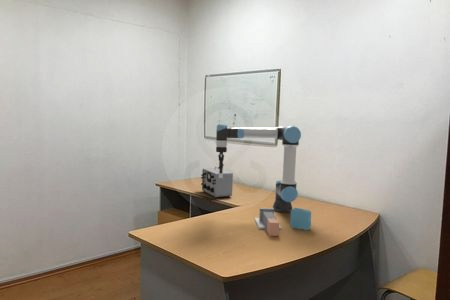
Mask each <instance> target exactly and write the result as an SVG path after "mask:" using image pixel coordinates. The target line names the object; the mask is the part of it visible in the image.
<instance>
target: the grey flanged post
mask: <svg viewBox="0 0 450 300" xmlns="http://www.w3.org/2000/svg"><path fill="white" fill-rule="evenodd" d="M258 215H259V217H255V218H254V221H255V224H256V226H257V228H258V230H265V231H266V232H267V219H277V217H276V216H275V211H274V208H273V207H259V212H258ZM279 230H282V227H281V225H280V224H279Z"/></svg>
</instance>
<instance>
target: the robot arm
mask: <svg viewBox="0 0 450 300" xmlns="http://www.w3.org/2000/svg"><path fill="white" fill-rule="evenodd" d="M244 138H246V139H248V138H249V139H274V140H278V141H281V145H282V146H283V161H282V163H283V164H282V179H281V180H279V179H278V180H276V181H275V192H274V195H275V198H274V202H273V205H272V208H274V212H276V211H277V213H283V212H288V213H291V210H292V209H294V207H293V204H292V202H294V201H295V200H297V198H298V195H299V191H298V190H297V184H298V183H297V182H296V180H295V179H296V178H295V177H296V163H297V162H296V160H297V159H296V158H297V147H299V144H300V140H301V138H302V132H301V130H300V129H299V127H298V126H295V125H283V126H274V127H238V126H237V127H236V126H235V127H234V126H233V127H229V126H228V125H227V124H217V125H216V138H215V139H216V141H215V146H216V147H215V151H216V153H219V154H217V155H218V161H219V163H218V164H219V165H218V166H217V168H218V169H219V178H223V170H224V158H225V154H224V153H227V151H228V150H227V149H228V148H227V147H228V139H244Z"/></svg>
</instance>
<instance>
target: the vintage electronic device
mask: <svg viewBox="0 0 450 300" xmlns="http://www.w3.org/2000/svg"><path fill="white" fill-rule="evenodd" d="M233 173H234V172H232V171H228V170H225V169H223V178H219V169H218V166H214V168H202V174H201V178H200V179H201V182H202V183H201V184H200V185H201V190H202V192H204V193H206V194H208V195H210V196H212V197H213V198H215V199H218V198H222V197H227V198H231V197H232V196H233V185H234V184H233V180H234V179H233V177H234V176H233Z"/></svg>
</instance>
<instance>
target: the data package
mask: <svg viewBox="0 0 450 300" xmlns="http://www.w3.org/2000/svg"><path fill="white" fill-rule="evenodd" d="M311 223H312V211H311V210H309V209H304V208H303V209H302V208H297V207H293V209H292V210H291V212H290V223H289V224H290V227H291V228H292V229H296V228H298V229H297V230H301V229H304V230H303V231H309V230H310V229H311V226H312V224H311Z"/></svg>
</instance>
